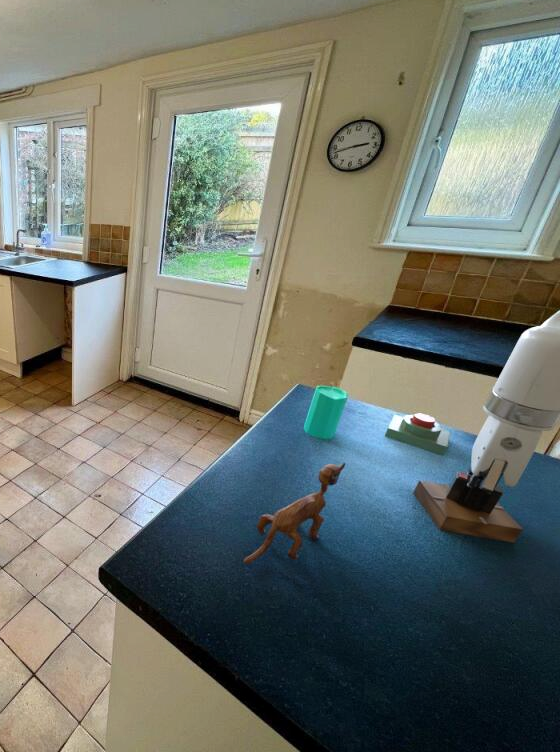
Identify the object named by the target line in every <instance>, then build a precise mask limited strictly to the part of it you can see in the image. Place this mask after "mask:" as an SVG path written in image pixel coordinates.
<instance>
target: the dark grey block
mask: <svg viewBox="0 0 560 752" xmlns="http://www.w3.org/2000/svg"><path fill="white" fill-rule="evenodd" d="M468 475H469V474H468V473H465V472H462V471H457V472H456V473H455V475H454V477H453V478H452V481H451V482H450V483H451V484H450V483H449V485H450V486H449V488H448V490H447V492H446V498H448V499H450V500H453V501H456V499H457V497H458V495H459V493H460V491H461V490H462V488H463V486H464V484H465V483H467V484H468V482H469V481H470V479H471V475H469V476H468ZM477 480H478V479H477ZM503 494H504V489H503V486H501V485H498V484H497V486H496V487H495V489H494V491H493V493H492V495H491V497H490V498H489V500H488V502H487V503H486V505H485V507H484V508H483V510H482V511H483V512H486V513H489V514H491V512H492V510H493V509H494V507H495V506H496V504H497V502H498V503H499V500H500V499H501V498H502V496H503Z"/></svg>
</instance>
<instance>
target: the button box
mask: <svg viewBox="0 0 560 752" xmlns="http://www.w3.org/2000/svg"><path fill="white" fill-rule="evenodd" d="M413 416H414V414H406V415H404V416H401V415H398V414H393V416H392V418H391V421H390V422H389V425H388V427H387V430H386V432H385V433H384V437H386V438H389V439H393V440H396V441H398V442H401V443H404V444H407V445H411V446H414V447H417V448H419V449H423V450H424V451H425V450H426V451H428V452H431V453H435V454H437V455H441V456H444V455H445V453H446V451H447V449H448V447H449V443H450V437H451V432H452V431H450V430H447V429H445V428H443V426H442V425H441V424H440V423H439V422H437V421H435V423H434V425H433V427H432V428H424V427H421V426H418V425H416V424H414V423H412V422H411V421H412V418H413Z"/></svg>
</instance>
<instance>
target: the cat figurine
mask: <svg viewBox="0 0 560 752" xmlns="http://www.w3.org/2000/svg"><path fill="white" fill-rule="evenodd" d="M345 466H346V463H345V462H344V463H342V464H341V465H340V466H339V465H338V464H334V463H327V464H325V465H323V467H322V468H321V469H320V470H319V473H318V476H317V478H318V481H319V483H320V490H319V491H318V492H314V493H310V494H308V495H307V496H305V497H304V496H303V497H302V498H299V499H297V500H294V501H293V503H290V504H289V505H287V506H285V507H283V508H279V509H278V510H277V511H275V513H274V514H273V515H272V514H271V513H270V514H269V513H267V514H262V515H261V516H260V518H259V520H258V522H257V524H256V529H257V531H258V533H259V535H260V536H261V537H262V536H264V535H266V533H267V530H265V528H266V527H267V526H268V525H270V524H271V528H269V531H268V534H267V537H266V538H265V540H264V542H263V543H262V545H261V546H260V547H258V549H257V550H255V551H254V552H253V553H252V554H250V555H248V556H247V557H245V558H244V559H243V564H245V565H247V564H250V563H252V562H253V561H255V560H256V559H258V558H260V557H261V556H262V555H263V554H264V553H265V552H266V551H267V550H268V549H269V547H270V546H271V544H272V543H273V542H274V539H275V537H276V534H277V532H280V533H282V534H284V535H286V536H287V537H288V538H290V539H291V540H292V541H293V543H292V545H291V547H290V548H289V550H288V552H287V557H288V558H289V559H290V560H293V561H296V560H297V559H298V558H299V555H297V552H298V551H299V550H300V549H301V548H302V546H303V542H304V541H303V537H302V535H301V534H300V533H299V530H298V529H299V527H300V526H301V525H302V524H304V523H305V522H306V521H308V520H312V524H311V526H310V528H309V531H308V537H309V538H310V539H312V540H317V539H319V538H320V536H319V535H318V533H319V530H320V528H321V527H322V524H323V522H324V521H325V518H324V517H323V516H322V515H321V514H320V513H321V512H322V511H323V509H324V508H325V507H326V503H327V502H326V500H325V497H324V495H325V493H326V492H327V491H328V487H330V486H334V485H336V484H338V480H339V477H340V476H341V472H342V470H344V468H345Z"/></svg>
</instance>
